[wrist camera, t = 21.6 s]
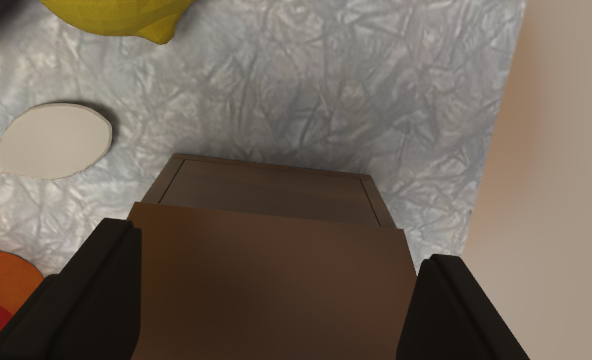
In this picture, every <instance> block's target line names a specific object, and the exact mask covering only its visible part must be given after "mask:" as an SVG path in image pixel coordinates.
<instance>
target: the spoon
mask: <svg viewBox="0 0 592 360" xmlns="http://www.w3.org/2000/svg"><path fill="white" fill-rule="evenodd" d="M111 140H112V126H111V124H110V123H109V122H108V120H106V119H105V118H104V117H103V116H102V115H100V114H99V113H97V112H96V111H94V110H92V109H91V108H88V107H85V106H81V105H78V104H68V103H55V104H45V105H41V106H37V107H33V108H30V109H28V110H27V111H25V112H23V113H22V114H20V115H19V116H17V117H15V119H14V120H13V121H12V123H11V124H10V125H9V127H8V128H7V129H6V131H5V133H4V135H3V137H2V139H1V141H0V173H8V174H15V175H20V176H25V177H29V178H34V179H48V180H53V179H59V178H65V177H70V176H72V175H75V174H77V173H79V172H82V171H84V170H86V169H87V168H89V167H90V166H92V165H93V164H95V163H96V162H98V161H99V160H100V159H101V158H102V157H103V156H104V155H105V154H106V152H107V151H108V149H109V148H110V145H111Z"/></svg>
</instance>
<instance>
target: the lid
mask: <svg viewBox="0 0 592 360" xmlns="http://www.w3.org/2000/svg"><path fill="white" fill-rule="evenodd" d="M126 220H131V221H132V222H133V225H134V228H141V231H142V270H141V329H140V335H139V340H138V343H137V346H136V348H135V350H134V353H133V355H132V358H131V360H396V350H397V346H398V342H399V339H400V336H401V332H402V329H403V325H404V322H405V318H406V315H407V311H408V308H409V304H410V301H411V297H412V294H413V290H414V287H415V284H416V280H417V275H416V271H415V268H414V265H413V261H412V258H411V254H410V251H409V247H408V244H407V240H406V237H405V234H404V230H403V229H397V228H387V227H377V226H368V225H358V224H348V223H339V222H329V221H319V220H310V219H300V218H290V217H281V216H271V215H261V214H252V213H242V212H232V211H223V210H213V209H203V208H194V207H184V206H174V205H165V204H155V203H145V202H134V205H133V207H132V209H131V211H130V213H129V215H128V217H127V219H126Z"/></svg>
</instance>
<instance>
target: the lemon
mask: <svg viewBox="0 0 592 360" xmlns="http://www.w3.org/2000/svg"><path fill="white" fill-rule="evenodd" d="M40 1H41V2H42V3H43V4H44V5H45V6H46V7H47V8H48V9H49V10H50V11H51V12H53V13H54V14H55V15H57V16H58V17H59V18H61V19H62V20H63V21H65V22H66V23H68V24H70V25H72V26H75V27H77V28H79V29H81V30H83V31H85V32H88V33H93V34H98V35H103V36H139V37H143V38H146V39H148V40H150V41H152V42H154V43H156V44H160V45H162V44H166V43H168V42H169V41H170V40H171V39H172V38H173V37H174V33H175V28H176V24H177V22H178V21H179V19H180V17H181V15H182V14H183V12H184V11H185V10H186V9H187V8H188V7H189V6H190V5H191V4H192V3H193V2H194V1H195V0H40Z"/></svg>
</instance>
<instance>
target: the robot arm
mask: <svg viewBox="0 0 592 360" xmlns="http://www.w3.org/2000/svg"><path fill="white" fill-rule="evenodd" d="M141 270H142V231H141V228H134V225H133V222H132V221H131V220H121V219H112V218H104V219H103V220H102V221H101V222H100V223H99V225H98V226H97V227H96V228H95V230H94V231H93V232H92V233H91V235H90V236H89V237H88V238H87V240H86V241H85V242H84V243H83V245H82V246H81V247H80V248H79V250H78V251H77V252H76V253H75V255H74V256H73V257H72V258H71V260H70V261H69V262H68V263H67V265H66V266H65V267H64V268H63V269H62V271H61V272H60V273H59V274H51V275H48V276H47V277H46V278H45V279H44V280H43V281H42V282H41V283H40V285H39V286H38V287H37V288H36V289H35V291H34V292H33V293H32V294H31V295H30V296H29V298H28V299H27V300H26V301H25V302H24V304H23V305H22V306H21V307H20V308H19V310H18V311H17V312H16V313H15V314H14V316H13V317H12V318H11V319H10V320H9V322H8V323H7V324H6V325H5V326H4V327H3V329H2V330H1V331H0V360H131V358H132V355H133V353H134V350H135V348H136V346H137V343H138V340H139V335H140V329H141ZM396 360H530V359H529V357H528V356H527V354H526V353H525V351H524V350H523V349H522V347H521V345H520V344H519V343H518V341H517V340H516V338H515V337H514V335H513V334H512V332H511V331H510V329H509V328H508V326H507V325H506V324H505V322H504V321H503V319H502V318H501V316H500V315H499V313H498V312H497V310H496V309H495V307H494V306H493V304H492V303H491V302H490V300H489V299H488V297H487V296H486V294H485V293H484V291H483V290H482V288H481V287H480V285H479V284H478V283H477V281H476V280H475V278H474V277H473V275H472V274H471V272H470V271H469V269H468V268H467V266H466V265H465V263H464V262H463V260H462V259H461V258H460V257H459V256H451V255H442V254H433V255H432V256H431V257H430V259H424V260H423V261H422V263H421V266H420V270H419V273H418V277H417V280H416V284H415V287H414V290H413V294H412V297H411V301H410V304H409V308H408V311H407V315H406V318H405V322H404V325H403V329H402V332H401V336H400V339H399V342H398V346H397V350H396Z"/></svg>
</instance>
